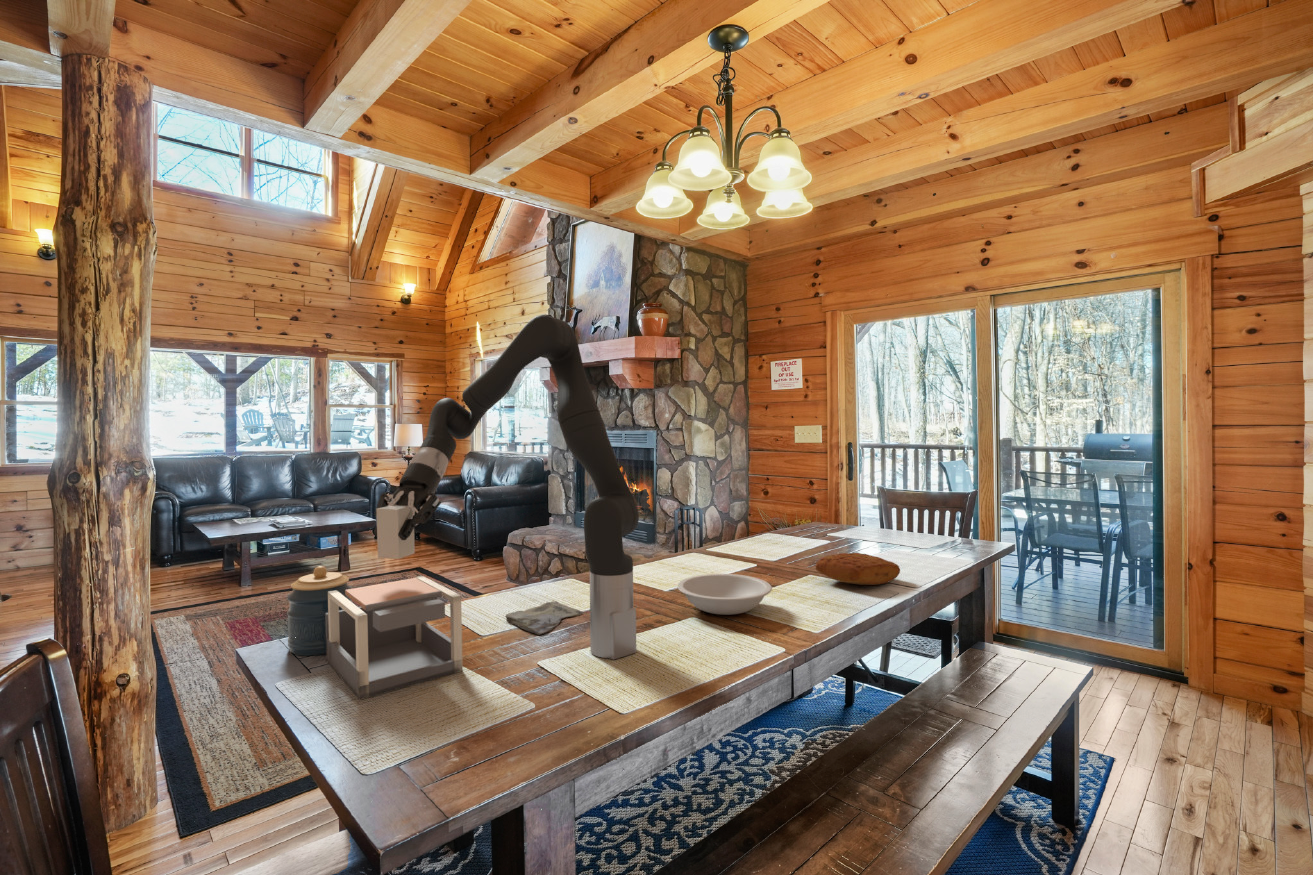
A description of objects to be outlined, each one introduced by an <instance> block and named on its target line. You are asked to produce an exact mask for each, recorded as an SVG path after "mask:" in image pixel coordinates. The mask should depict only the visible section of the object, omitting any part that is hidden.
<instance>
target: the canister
mask: <svg viewBox="0 0 1313 875" xmlns="http://www.w3.org/2000/svg"><path fill="white" fill-rule="evenodd" d="M349 581H350V578H349V577H348V576H346V575H343V574H342V573H341V572H337V571H336V572H335V571H328V569H327V568H326V567H325V566H324V565H318V566H316V567H315V568H314V570H313V573H310V574H306V575H303V576H302V575H301V576H299V578H298V579H297V580H295V581H294V582H292V583H291V585H290V588H291V589H292V591H291V592H289V593H287V596H286V600H287V601H288V602H289V608H288V610H287V612H286V615H287V624H288V625H287V626H288V627H287V628H288V629H287V630H288V638H287V647H288V648H289V649H288V651H289V652H290V653H291V654H293V655H297V656H304V657H305V656H317V655H326V620H325V613H328V592H329V591H334V590H337V591H338V592H339V593H341V594H342V595H343V596H345V597H346V598H347V599H348V600H350V601H351V602H352V603H353V604H355V602H354V601H353V600H351V599H350V598H349V597H347V596H346V595H345V590H348V589H354V587H353V586H351V585H350V584H348V582H349ZM340 610H343V609H342V608H341V607H340V606H339V611H340ZM295 637H296V638H295Z"/></svg>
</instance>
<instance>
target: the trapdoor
mask: <svg viewBox="0 0 1313 875" xmlns="http://www.w3.org/2000/svg"><path fill="white" fill-rule="evenodd" d="M345 595H346V596H347V597H349V598H350V599H351V600H352V601H353V602H354V604H355V605H357V606H358V607H362V608H363V609H364V610H365V611H366V612H367V611H372V610H373V627H374V628H375V629H377V630H378V631H379V632H383V631H387V630H392V629H396V628H401V627H405V626H410V625H414V624H419V623H424V622H426V623H428V622H433V621H437V620H441V619H445V618H446V602H445V601H443V600H442V599H440V598H443V596H442V592H441V591H439V590H437V589H435V588H434V587H432V586H430V585H428V584H426V583H424V582H422V581H420V580H419V579H417V578H415V577H412V578H407V579H401V580H396V581H388V582H385V583H384V582H383V583H378V584H372V585H366V586H359V587H353V589H348V590H345ZM407 603H408V604H407ZM402 604H403V605H402ZM397 605H398V606H397ZM392 606H393V607H392ZM387 607H388V608H387ZM382 608H383V609H382Z"/></svg>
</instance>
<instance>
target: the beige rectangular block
mask: <svg viewBox="0 0 1313 875" xmlns="http://www.w3.org/2000/svg"><path fill="white" fill-rule="evenodd" d="M375 510H377V517H376V526H377V537H376V538H377V542H376V543H377V559H391V560H392V559H394V560H400V559H403V558H406V557H408V556H411V555H414V554H415V553H416V547H415V546H416V545H415V528H414V529H413V531H412V533H411V534H410V536H409V537H408V538H407V539H406V540H401V538H400V537H399V536H398V533H399V531H400V529H401V527H402V526H403V524H404V522H405V520H408V518H407V517H408V514H409V512H410V507H409V506H405V505H395V506H387V507H382V508H378V509H376V508H375Z"/></svg>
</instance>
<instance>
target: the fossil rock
mask: <svg viewBox="0 0 1313 875" xmlns="http://www.w3.org/2000/svg"><path fill="white" fill-rule="evenodd" d="M581 615H584V612H583V611H581V610H580V609H576V608H573V607H571V606H568V605H566V604H563V603H560V602H559V601H556V600H555V601H554V600H553V601H551V602H550V601H547V602H545V603H543V604H541V605H538V606H533V607H530V608H528V609H525V610H516V611H513V612H508V613H507V614H506V615H505V619H506V622H509V623H511V625H515V626H517V627H518V628H520V629H522V630H524V631H526V632H528V633H532V634H536V635H537V636H542V635H544V634H547V633H549V632H551V631H552V630H553V629H554V628H555V627H558V625H559V624H560V623H561V621H562V620H563V619H567V618H574V617H575V618H576V617H578V616H581Z"/></svg>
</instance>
